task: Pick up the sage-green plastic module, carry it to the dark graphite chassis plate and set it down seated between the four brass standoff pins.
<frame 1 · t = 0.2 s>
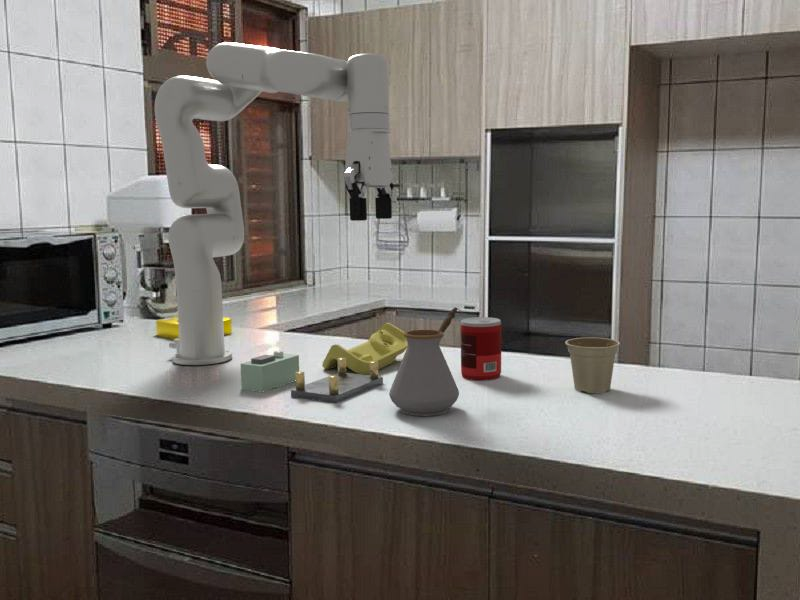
hand: (371, 219, 146), 31 cm above the worktop, fingers open, 9 cm apart
element tile: (194, 336, 206), on the worktop
canned food: (481, 377, 153), on the worktop
plastic component: (371, 366, 165), on the worktop
flower pot: (591, 390, 141), on the worktop
coffee pot: (435, 403, 134), on the worktop
module: (271, 385, 149), on the worktop
chassis: (338, 389, 144), on the worktop
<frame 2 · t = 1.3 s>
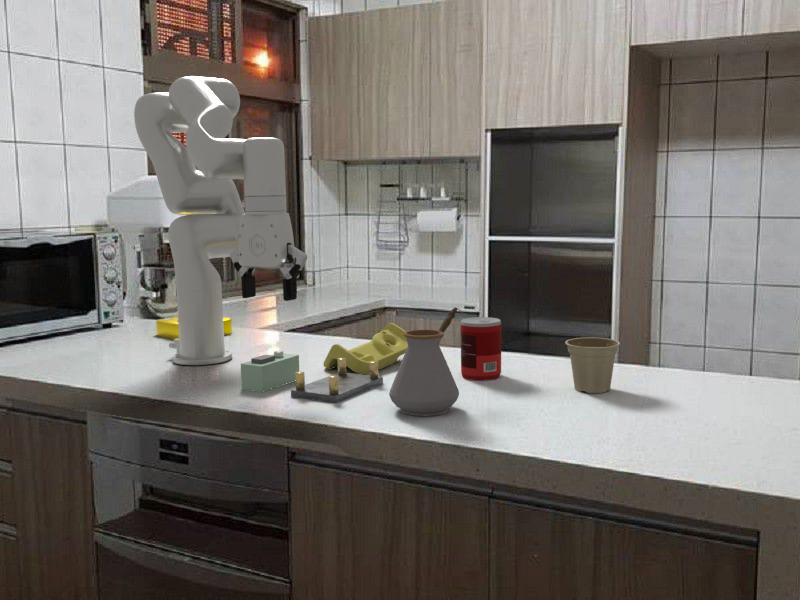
hand: (269, 298, 147), 16 cm above the worktop, fingers open, 9 cm apart
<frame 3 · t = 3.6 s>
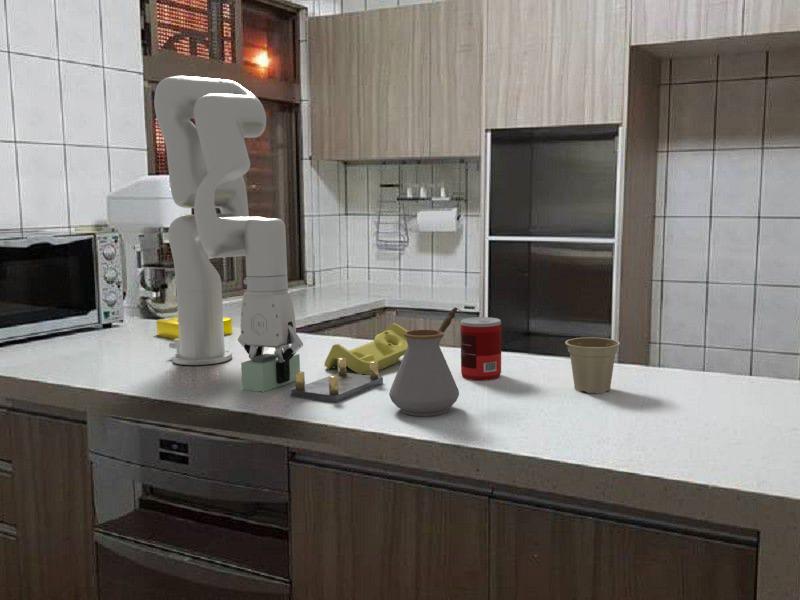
hand: (271, 379, 149), 1 cm above the worktop, fingers closed on module, 5 cm apart
module: (272, 384, 149), on the worktop, touching gripper
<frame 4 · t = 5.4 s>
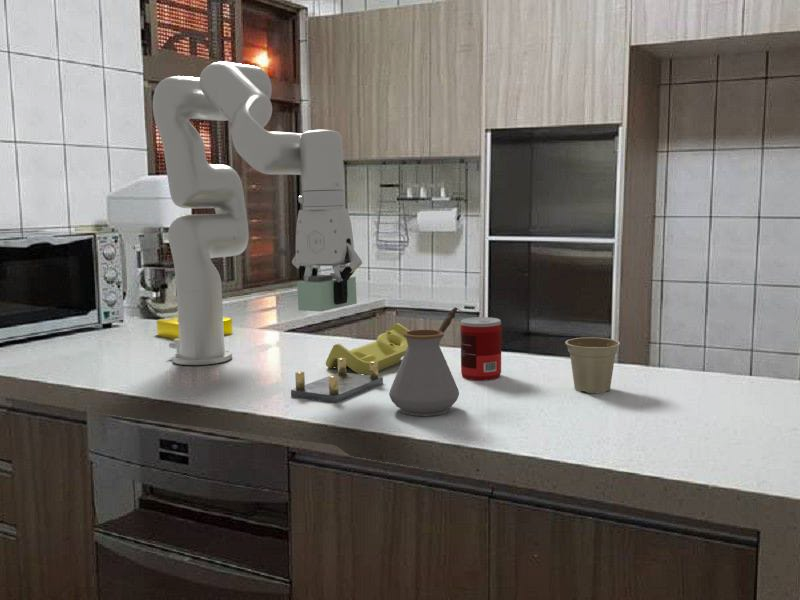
hand: (327, 301, 142), 16 cm above the worktop, fingers closed on module, 5 cm apart
module: (328, 306, 143), point 15 cm above the worktop, touching gripper
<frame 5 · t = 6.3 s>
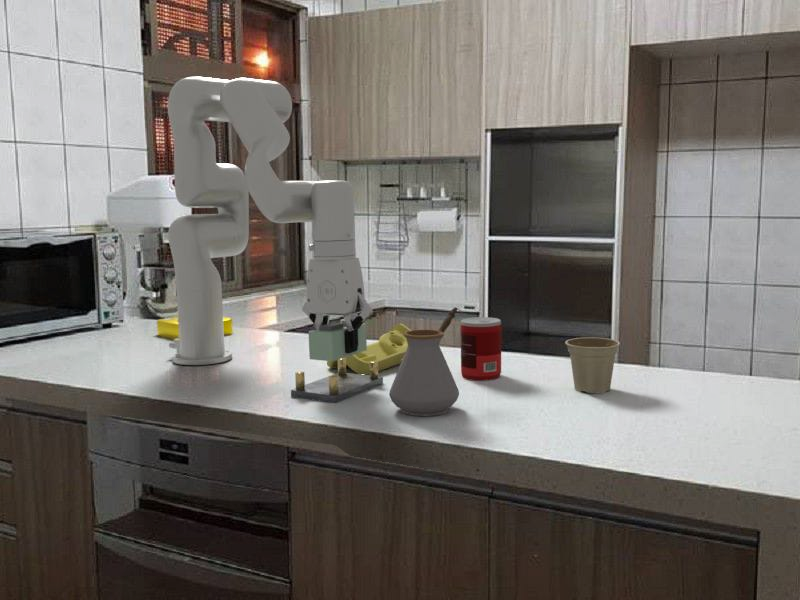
hand: (338, 349, 143), 7 cm above the worktop, fingers closed on module, 5 cm apart
module: (338, 354, 143), point 7 cm above the worktop, touching gripper
when the fingers open (3 cm above the worktop, at t = 7.3 s): module drops 1 cm, resting on chassis.
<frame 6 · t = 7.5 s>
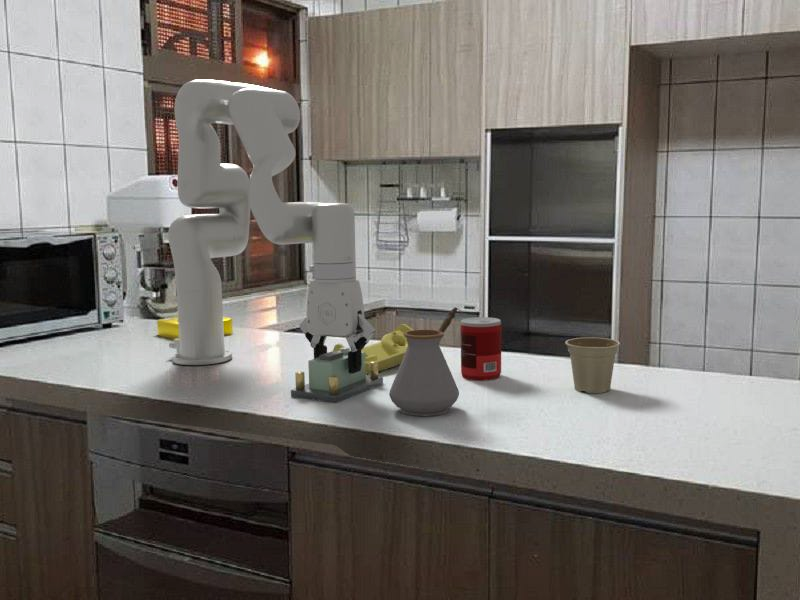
hand: (337, 369, 144), 4 cm above the worktop, fingers open, 6 cm apart
module: (338, 383, 144), point 1 cm above the worktop, touching chassis
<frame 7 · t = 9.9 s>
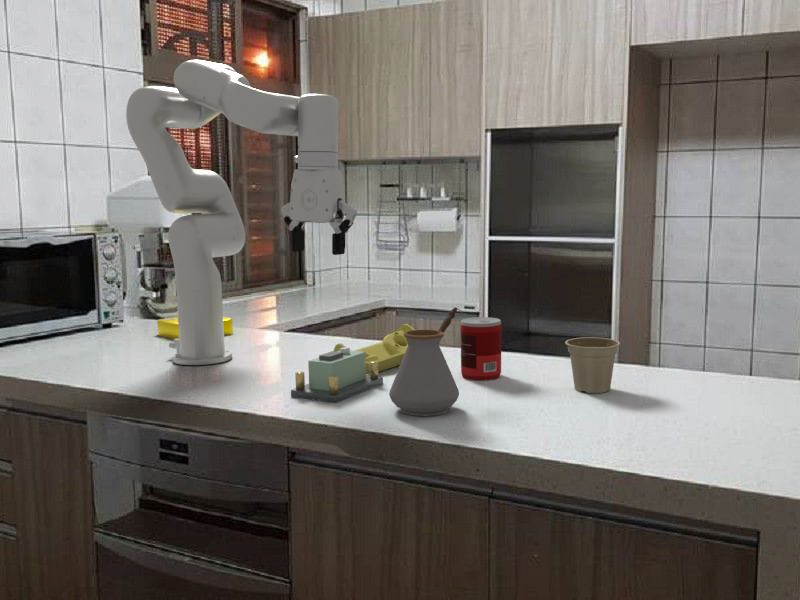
hand: (318, 252, 151), 24 cm above the worktop, fingers open, 9 cm apart
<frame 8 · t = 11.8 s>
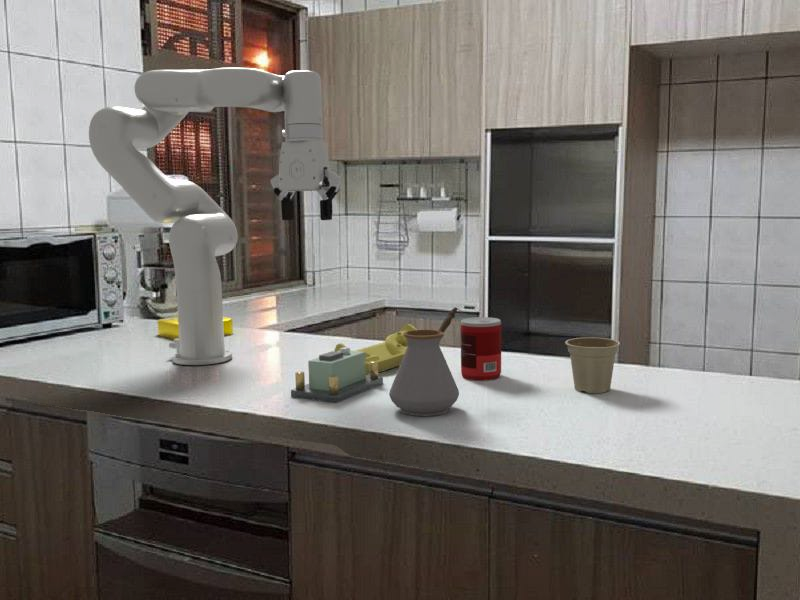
hand: (306, 219, 161), 30 cm above the worktop, fingers open, 9 cm apart
at the end: module 0.1 cm off-centre on the chassis, point 1.2 cm above the chassis's base; module tilted 0°; the gripper is holding nothing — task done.
